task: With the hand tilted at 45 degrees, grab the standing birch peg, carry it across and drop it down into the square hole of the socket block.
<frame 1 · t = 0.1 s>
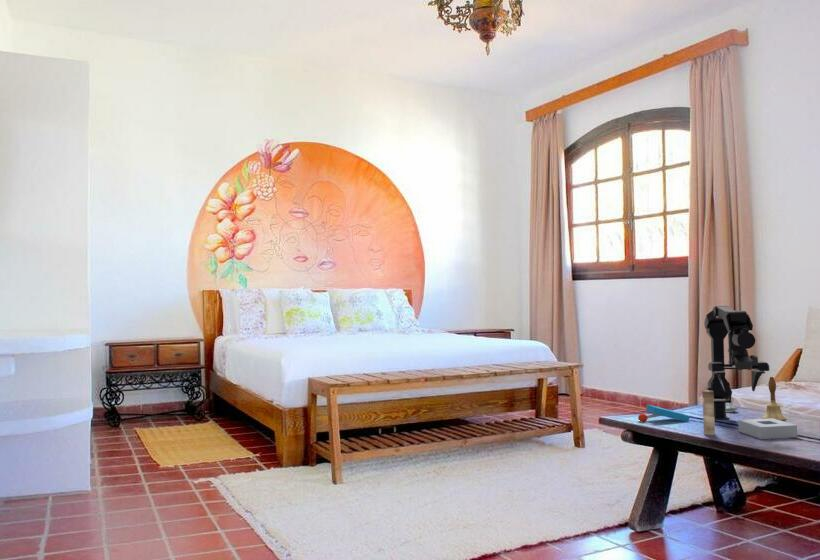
hand: (739, 391, 241), 15 cm above the table, tool pointing down, fingers open, 9 cm apart
birch peg: (709, 434, 241), on the table
pacifier: (728, 412, 282), on the table
lever: (662, 422, 267), on the table
hand bell: (774, 419, 265), on the table
socket block: (767, 434, 238), on the table
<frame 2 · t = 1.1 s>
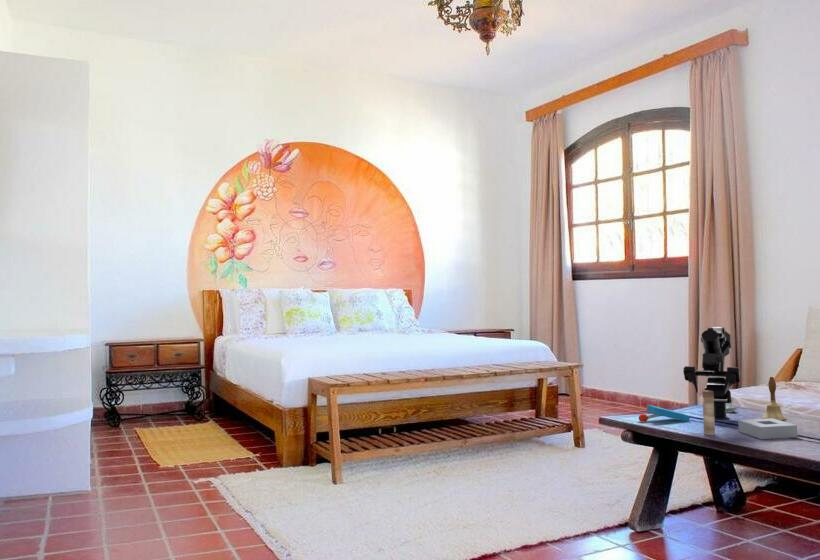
hand: (710, 392, 248), 13 cm above the table, tool tilted 45°, fingers open, 9 cm apart
nothing on the table moved.
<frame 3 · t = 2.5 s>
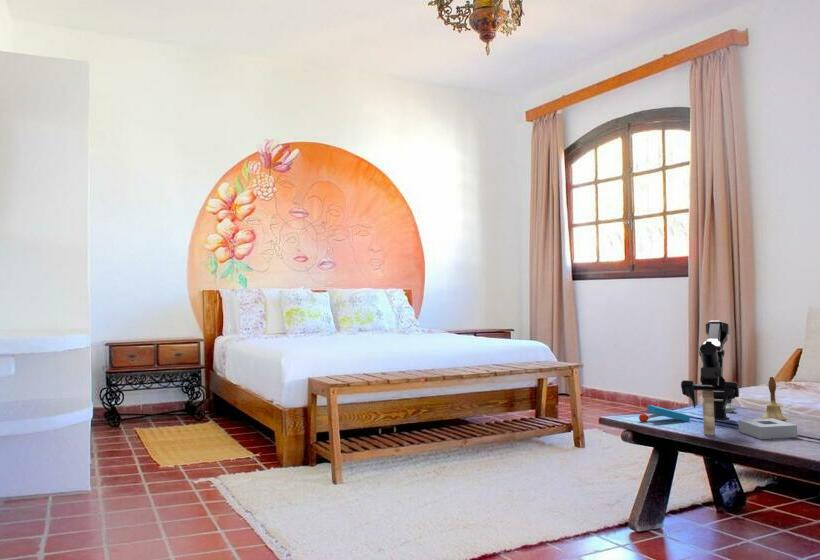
hand: (708, 407, 242), 9 cm above the table, tool tilted 45°, fingers open, 9 cm apart
nothing on the table moved.
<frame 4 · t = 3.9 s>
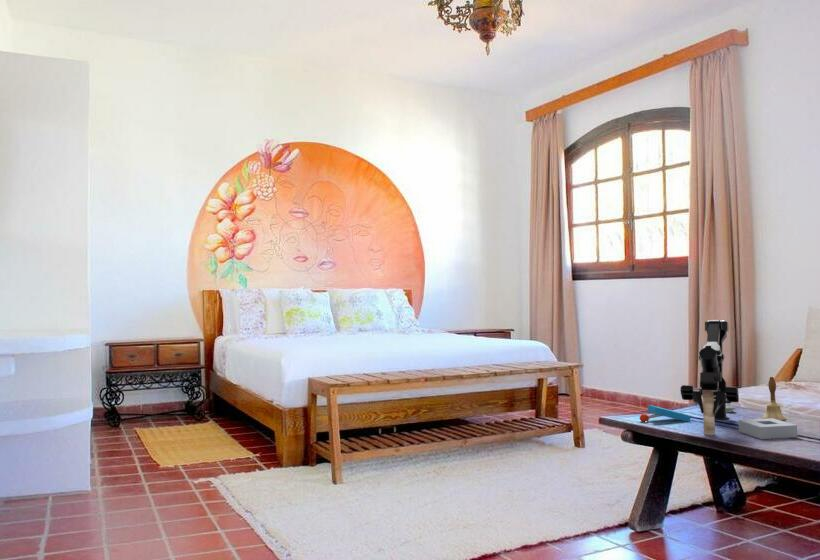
hand: (708, 413, 240), 8 cm above the table, tool tilted 45°, fingers closed on birch peg, 4 cm apart
birch peg: (709, 434, 241), on the table, touching gripper
everything else where it was.
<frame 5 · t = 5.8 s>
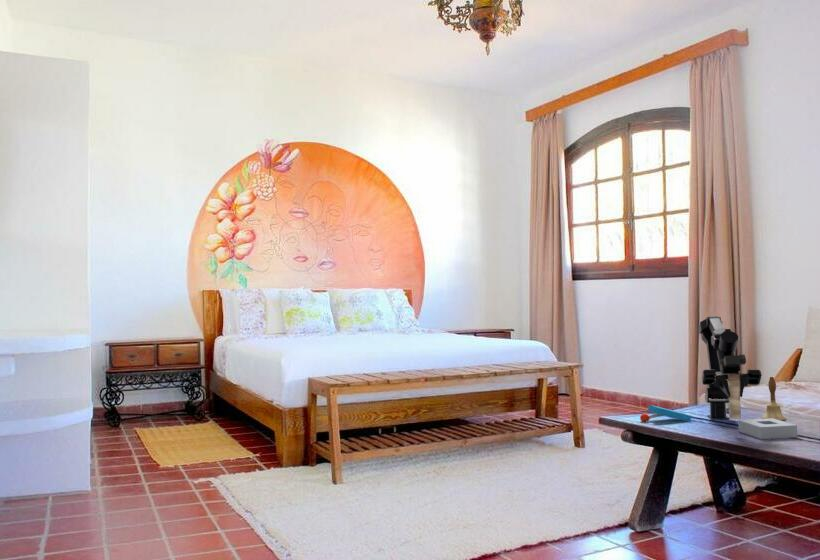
hand: (735, 396, 237), 13 cm above the table, tool tilted 45°, fingers closed on birch peg, 4 cm apart
birch peg: (735, 417, 238), point 6 cm above the table, touching gripper
when the fingers open (11 cm above the table, at t = 7.7 s): birch peg drops 3 cm, resting in socket block.
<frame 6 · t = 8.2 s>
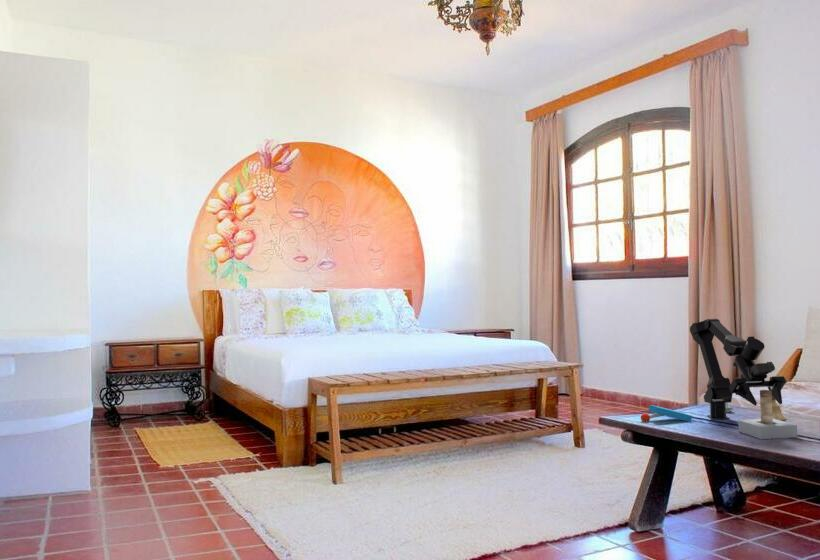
hand: (768, 404, 237), 11 cm above the table, tool tilted 45°, fingers open, 9 cm apart
birch peg: (767, 434, 238), resting in socket block
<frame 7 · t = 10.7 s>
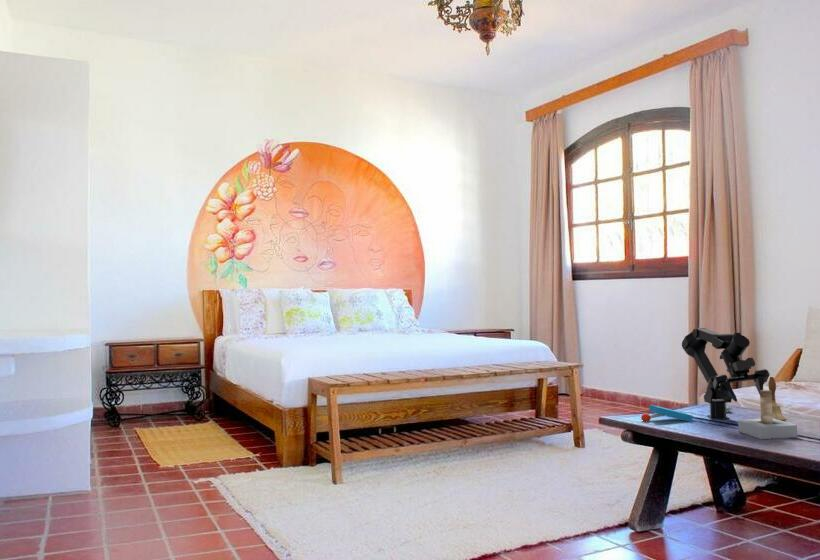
hand: (749, 399, 247), 11 cm above the table, tool tilted 40°, fingers open, 9 cm apart
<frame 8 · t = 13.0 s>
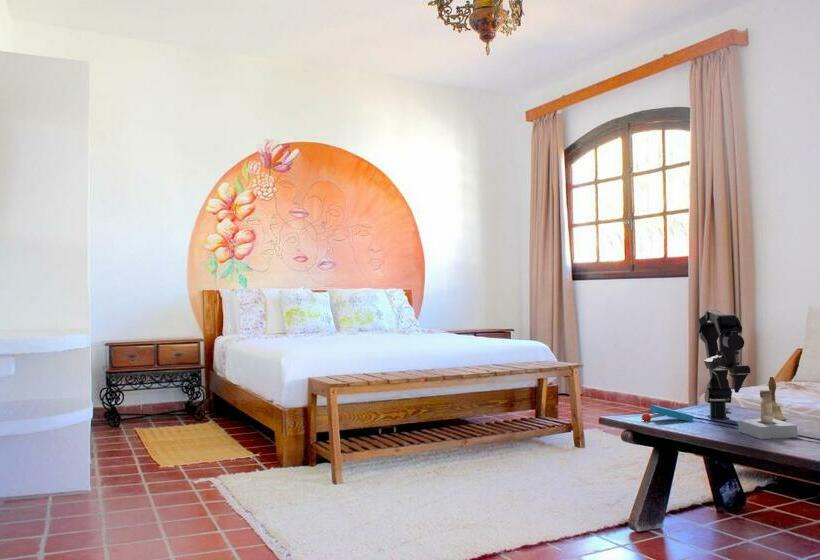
hand: (729, 390, 253), 13 cm above the table, tool pointing down, fingers open, 9 cm apart
at the end: birch peg 0.0 cm off-centre on the socket block, point 0.0 cm above the socket block's base; birch peg tilted 0°; the gripper is holding nothing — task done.
